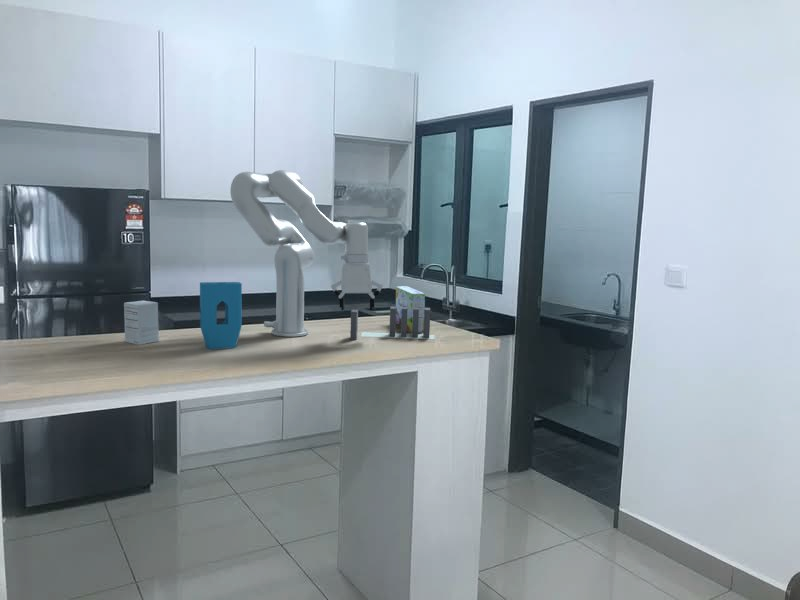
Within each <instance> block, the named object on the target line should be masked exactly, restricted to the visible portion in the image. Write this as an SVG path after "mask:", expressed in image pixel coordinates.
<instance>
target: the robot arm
mask: <svg viewBox="0 0 800 600" xmlns="http://www.w3.org/2000/svg"><path fill="white" fill-rule="evenodd" d="M229 189H230V198H231V202H232V203H233V205H234V207H235V209H236V210H237V212H238V213H239V214H240V215H241V216H242V217H243V219H244V220H245V222H246V223H247V224H248V226H250V228H251V229H252V230H253V232H254V233H255V234H256V236H257V237H258V238H259V240H260V241H261V242H262V243H263V244H264V245H265V246H267V247H271V248H273V247H274V248H275V247H278V249H277V250H276V251H275V254H274V268H275V276H276V278H275V279H276V280H275V281H276V282H275V283H276V288H275V289H276V295H275V296H276V297H275V298H276V303H275V305H276V307H275V308H276V309H275V310H276V311H275V312H276V314H275V315H276V316H275V317H276V318H275V320H273V321H263V325H264V327H265V328H272V330H271V335H274V336H276V337H287V338H288V337H291V338H292V337H303V336H307V335H308V334H309V330H308V329H306V328H304V327H305V324H304V323H305V322H304V321H305V320H304V319H305V317H304V316H305V280H304V279H305V278H304V273H303V270H305V269H307V268H309V267H310V266H312V265H313V263H314V260H315V254H314V253H315V252H314V250H313V248H312V247H311V245H310V244H309V242H308V241H307V240H306V239H305V237H304V236H303V235H302V234H301V232H300V231H299V230H298V229H297V227H296V226H295V225H294V224H292V222H290V221H288V220H285V219H278V218H276V216H274V214H273V213H272V212H271V211H270V210H269V209H268V207H267V206H266V205H265V204H264V203H263V202H262V201H260V200H259V198H262V199H263V198H265V199H266V198H279V200H281V201H282V203H284V204H285V205H286V206H287V207H288V208H290V210H292V211H293V212H294V213H295V214H296V216H297V218H298V219H299V221H300V222H301V224H302V225H303V227H305V229H306V230H307V231H308V232H309V233H310V234H311V235H313V236H314V237H315V238H316V240H319V241H320V242H321V243H323V244H325V245H339V244H345V247H344V249H345V255H341V256H340V259H341V261H344V263H343V264H342V269H341V279H340V280H339V281H337V282H335V283H333V284H331V286H330V288H331V289H332V291H333V293H334V294H335V295H336V296H337V297H338V300H339V308H341V311H344V310H345V298H344V296H345V294H367V295H369V296H370V297H369V311H373V308H375V298H376V297H377V296H378V295H379V294H380V293H381V290H382V289H383V285H382V284H380V282H379V283H378V282H377V281H375V280H373V279H372V277H373V275H372V267H371V264H370V263H369V250H368V248H369V246H368V245H369V242H368V241H369V240H368V239H369V234H368V233H369V232H368V231H369V229H368V224H367V223H366V222H361V221H360V222H356V221H354V222H343V221H331V220H330V219H329V218H328V217H326V215H325V214H323V213H322V211H320V210H319V208H318V207H317V206H316V201H315V200H316V198H315V196H314V194H312V193H311V192H310V191H309V190H308V189H306V188H305V187H304V186H303V182H302V178H301V177H300V176H299V175H298V174H297V173H296V172H293V171H289V170H283V169H278V170H275V171H273V172H272V173H261V172H254V171H243V172H239V173H238V174H237V175H235V176H234V178H233V179H232V181H231V184H230V188H229ZM339 286H341V287H340V288H341V292H340V291H339V290H338V289H337V287H339ZM373 286H375V287H376V288H377V289H376V291H374V292H373V291H372V289H373Z"/></svg>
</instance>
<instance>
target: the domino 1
mask: <svg viewBox="0 0 800 600" xmlns="http://www.w3.org/2000/svg"><path fill="white" fill-rule="evenodd" d="M358 320H359V309H352V310H350V331H349V333H350V339H349V340H351V341H357V339H358V327H359V326H358V323H359V322H358Z"/></svg>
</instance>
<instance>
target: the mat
mask: <svg viewBox="0 0 800 600" xmlns="http://www.w3.org/2000/svg"><path fill="white" fill-rule="evenodd" d="M360 337H361V338H365V337H366V338H392V339H414V340H415V339H417V340H418V339H420V340H436V338H435V337H436V336H435V334H429V338H423V333H422V334H419V333H418V338H412V333H407V335H406V337H401V333H397V332H395V337H389V332H371V331H370V332H369V331H367V332H366V331H362V332H361V335H360Z"/></svg>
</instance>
